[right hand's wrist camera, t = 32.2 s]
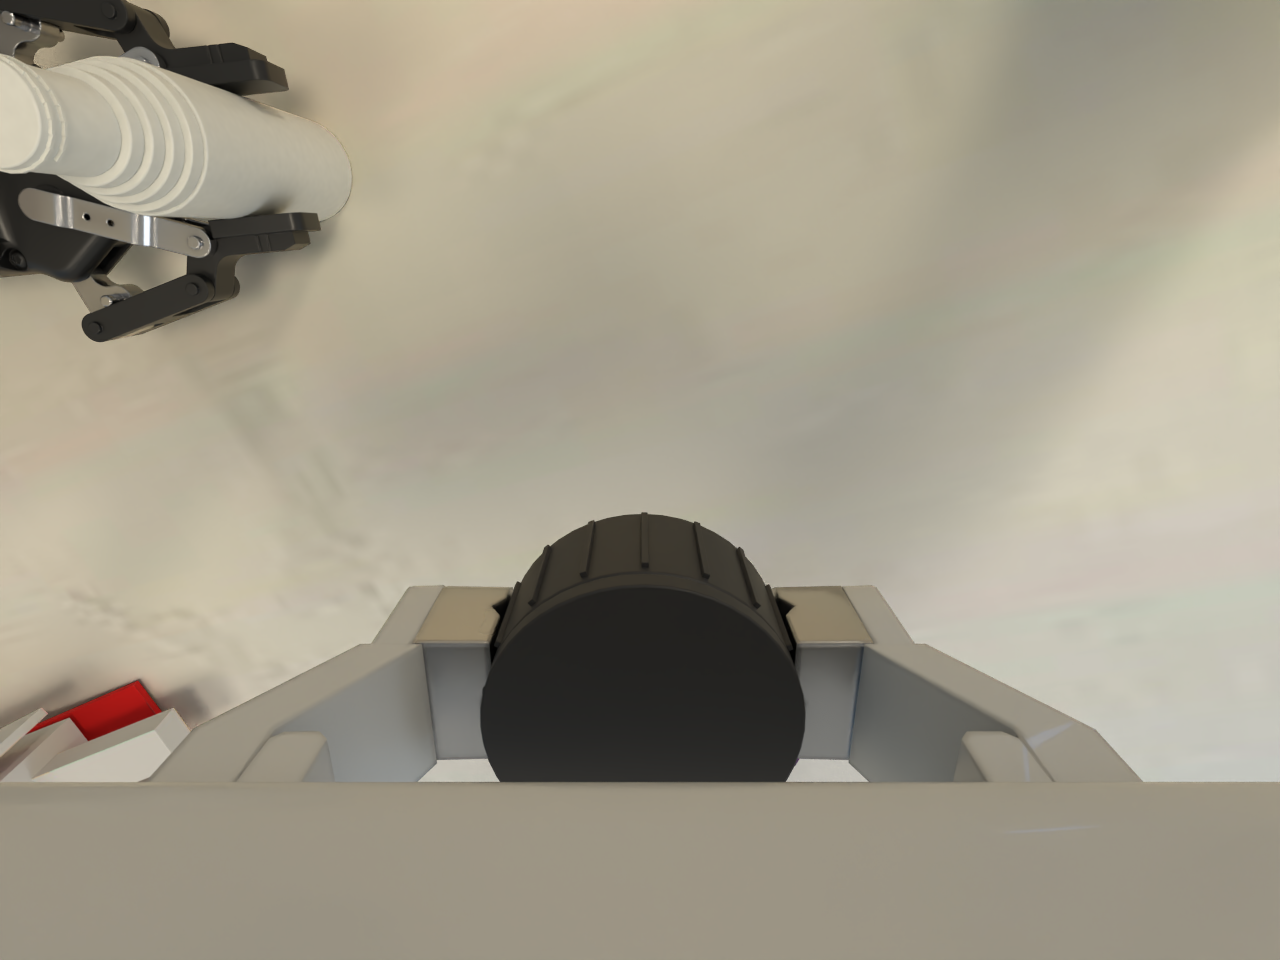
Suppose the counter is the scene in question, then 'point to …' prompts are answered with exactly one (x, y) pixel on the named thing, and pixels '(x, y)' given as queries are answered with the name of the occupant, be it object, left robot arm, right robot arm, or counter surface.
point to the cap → (642, 663)
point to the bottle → (166, 142)
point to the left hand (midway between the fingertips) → (293, 150)
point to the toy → (92, 741)
